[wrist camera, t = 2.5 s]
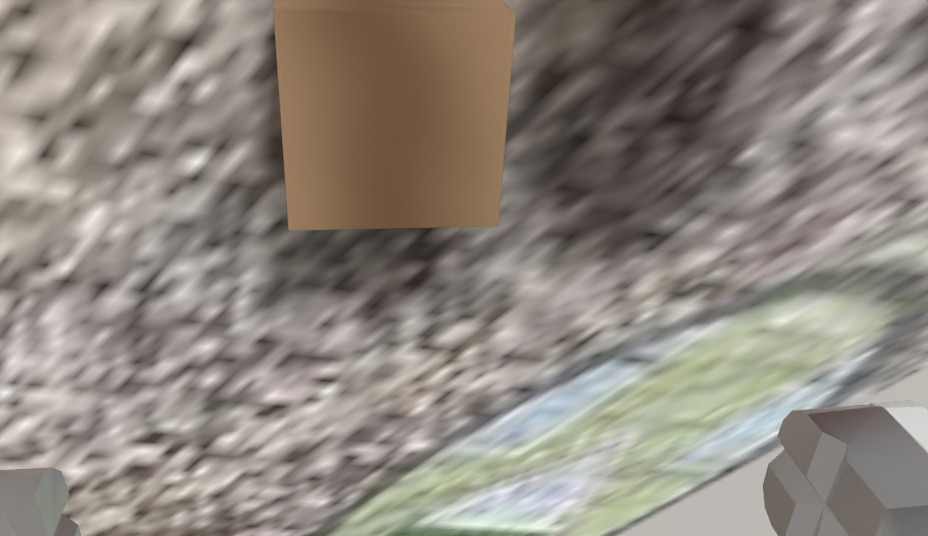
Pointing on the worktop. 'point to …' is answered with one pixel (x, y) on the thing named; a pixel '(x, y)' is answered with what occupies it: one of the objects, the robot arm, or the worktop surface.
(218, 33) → the worktop surface
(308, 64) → the walnut block
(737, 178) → the worktop surface
